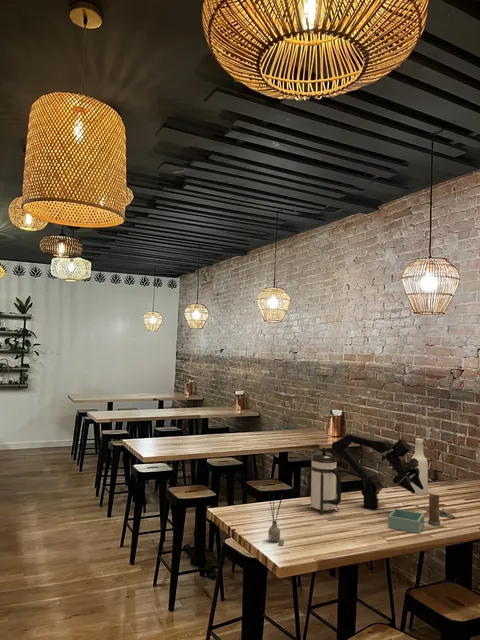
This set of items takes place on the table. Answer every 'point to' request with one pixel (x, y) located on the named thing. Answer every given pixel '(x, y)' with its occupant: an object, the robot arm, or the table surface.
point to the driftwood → (440, 513)
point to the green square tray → (406, 521)
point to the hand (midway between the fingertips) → (418, 490)
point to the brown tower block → (434, 510)
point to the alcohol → (421, 468)
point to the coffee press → (325, 481)
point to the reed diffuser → (275, 525)
